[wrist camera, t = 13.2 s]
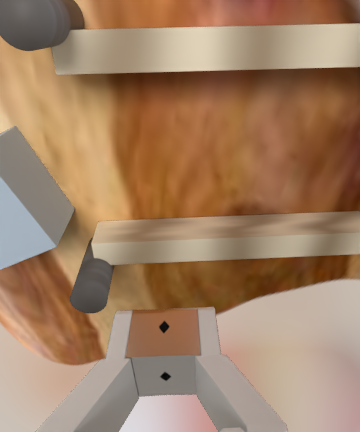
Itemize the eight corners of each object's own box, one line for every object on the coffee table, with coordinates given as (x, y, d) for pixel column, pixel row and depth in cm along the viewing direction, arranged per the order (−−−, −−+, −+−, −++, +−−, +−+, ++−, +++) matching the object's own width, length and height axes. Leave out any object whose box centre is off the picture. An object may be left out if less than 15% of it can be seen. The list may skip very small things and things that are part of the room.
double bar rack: (449, -14, 18) (565, -30, 13) (359, 247, 27) (404, 298, 22) (35, -6, 17) (-20, -20, 12) (91, 258, 27) (73, 314, 22)
